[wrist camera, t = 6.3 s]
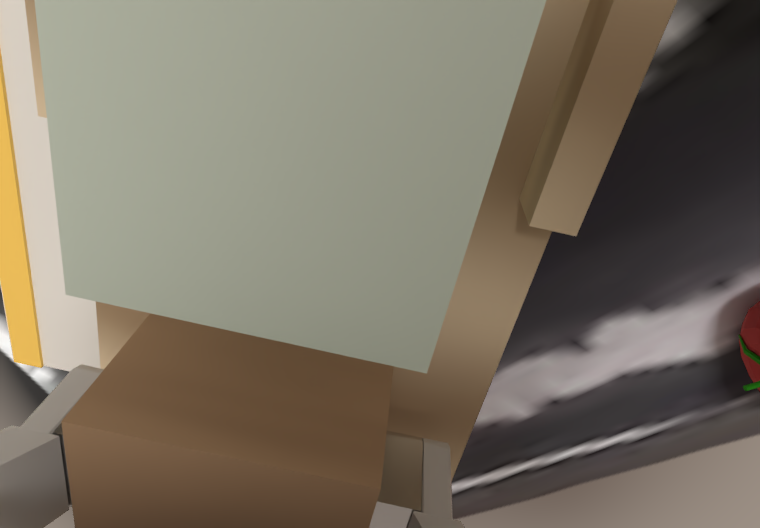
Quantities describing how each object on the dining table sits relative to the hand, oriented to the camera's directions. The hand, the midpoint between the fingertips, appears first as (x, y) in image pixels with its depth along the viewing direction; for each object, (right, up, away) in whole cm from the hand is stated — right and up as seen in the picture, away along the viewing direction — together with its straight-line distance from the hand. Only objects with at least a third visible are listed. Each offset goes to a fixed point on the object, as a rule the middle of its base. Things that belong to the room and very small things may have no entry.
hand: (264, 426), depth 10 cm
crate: (+2, +6, -1) cm, 7 cm away
